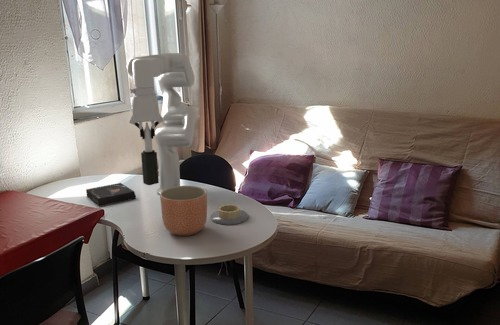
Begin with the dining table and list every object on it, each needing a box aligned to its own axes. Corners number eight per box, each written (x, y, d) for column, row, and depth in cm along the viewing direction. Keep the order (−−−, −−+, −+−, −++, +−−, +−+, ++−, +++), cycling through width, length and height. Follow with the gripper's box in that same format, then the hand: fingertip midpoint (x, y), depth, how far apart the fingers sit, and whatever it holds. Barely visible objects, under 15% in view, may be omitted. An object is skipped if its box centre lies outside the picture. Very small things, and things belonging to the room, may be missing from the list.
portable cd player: (136, 199, 203) (135, 191, 202) (98, 207, 194) (98, 198, 193) (122, 190, 216) (121, 182, 215) (87, 197, 206) (86, 189, 205)
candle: (153, 180, 185) (148, 120, 178) (159, 182, 181) (155, 122, 175) (142, 182, 181) (137, 122, 175) (149, 185, 178) (144, 124, 171)
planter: (168, 243, 157) (166, 203, 153) (158, 226, 172) (155, 189, 168) (214, 235, 163) (213, 196, 159) (200, 219, 178) (199, 183, 174)
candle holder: (208, 212, 185) (207, 203, 184) (243, 209, 188) (243, 200, 187) (213, 226, 171) (213, 216, 170) (251, 222, 174) (251, 213, 173)
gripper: (122, 93, 166) (126, 141, 171) (166, 92, 170) (169, 139, 175) (122, 91, 173) (126, 137, 178) (165, 90, 177) (168, 135, 182)
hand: (147, 138), depth 176 cm, fingers closed on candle, 2 cm apart
